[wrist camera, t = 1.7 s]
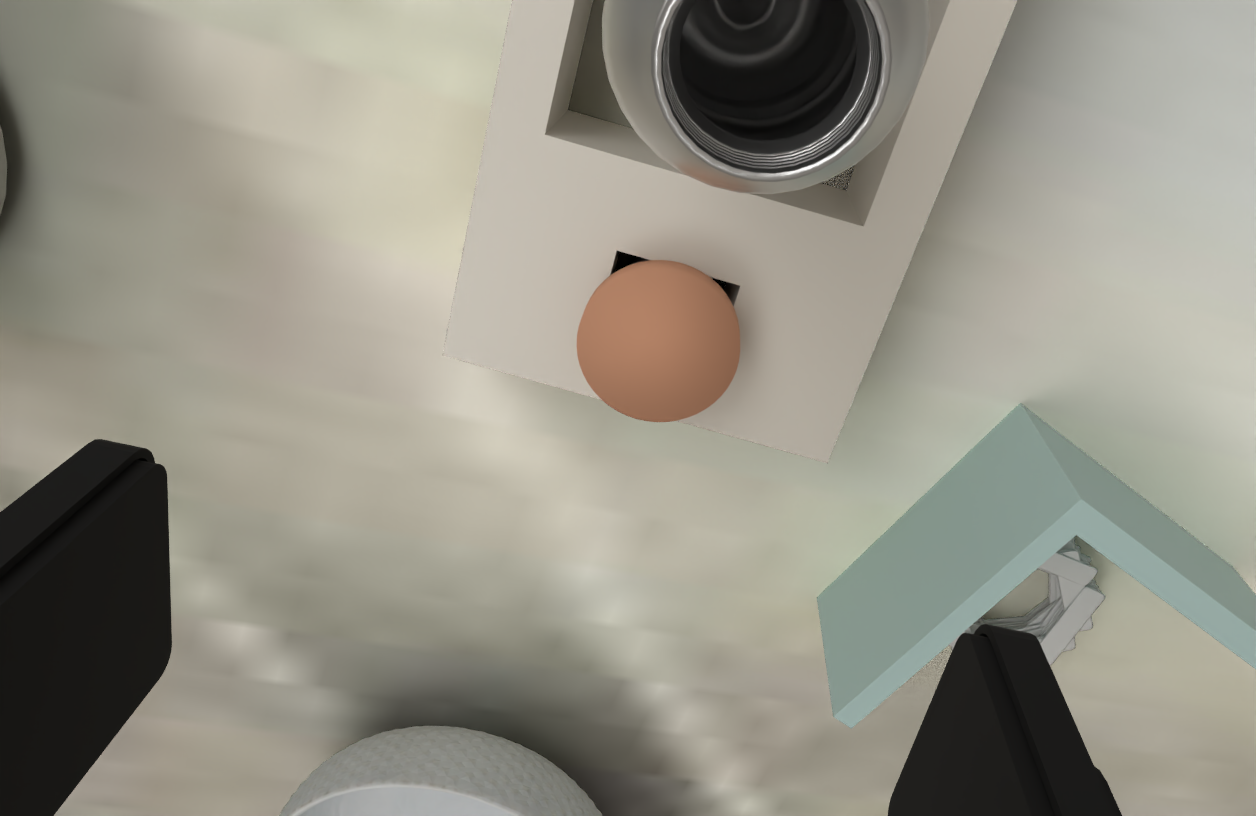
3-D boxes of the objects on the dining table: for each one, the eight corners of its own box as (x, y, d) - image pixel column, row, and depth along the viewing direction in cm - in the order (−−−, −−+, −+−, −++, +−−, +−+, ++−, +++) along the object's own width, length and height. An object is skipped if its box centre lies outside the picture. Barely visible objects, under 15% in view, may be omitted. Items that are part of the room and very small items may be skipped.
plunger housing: (816, 403, 39) (827, 463, 35) (475, 307, 39) (442, 355, 34) (1144, -437, 27) (1227, -511, 23) (661, -588, 27) (648, -694, 22)
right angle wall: (816, 595, 43) (833, 716, 37) (1019, 401, 39) (1081, 498, 32) (1016, 732, 46) (1067, 870, 39) (1231, 565, 41) (1331, 688, 34)
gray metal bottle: (681, -142, 32) (620, -248, 14) (879, -71, 32) (1077, -85, 14) (621, 61, 34) (506, 194, 16) (804, 124, 35) (888, 322, 17)
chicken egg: (714, 374, 37) (712, 439, 32) (582, 336, 37) (560, 397, 32) (757, 245, 35) (762, 296, 30) (616, 205, 35) (598, 249, 30)
